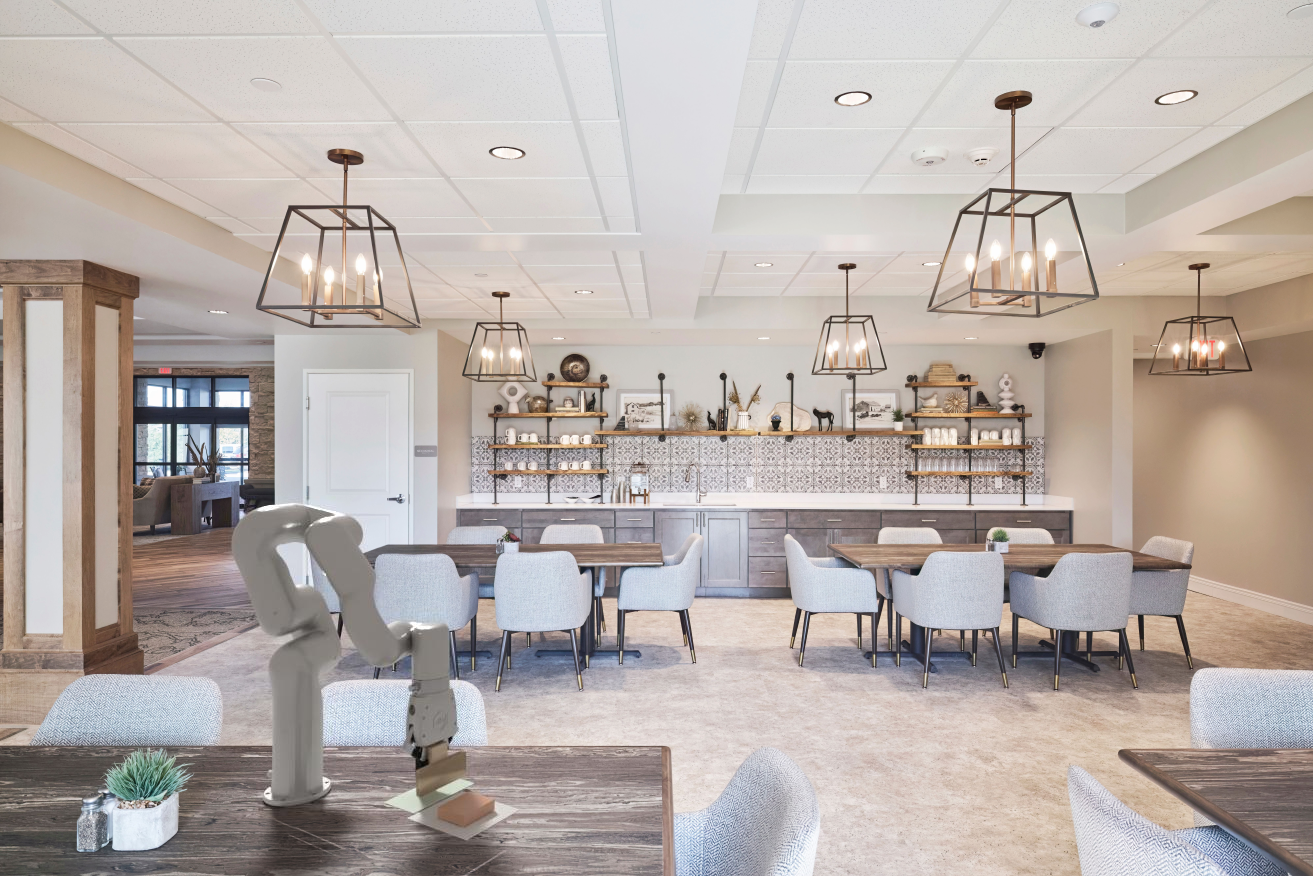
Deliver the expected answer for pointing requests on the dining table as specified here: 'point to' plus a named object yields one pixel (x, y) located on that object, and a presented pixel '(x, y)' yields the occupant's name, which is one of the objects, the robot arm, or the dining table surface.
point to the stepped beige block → (439, 769)
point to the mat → (466, 832)
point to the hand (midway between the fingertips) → (431, 773)
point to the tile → (466, 808)
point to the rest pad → (426, 796)
